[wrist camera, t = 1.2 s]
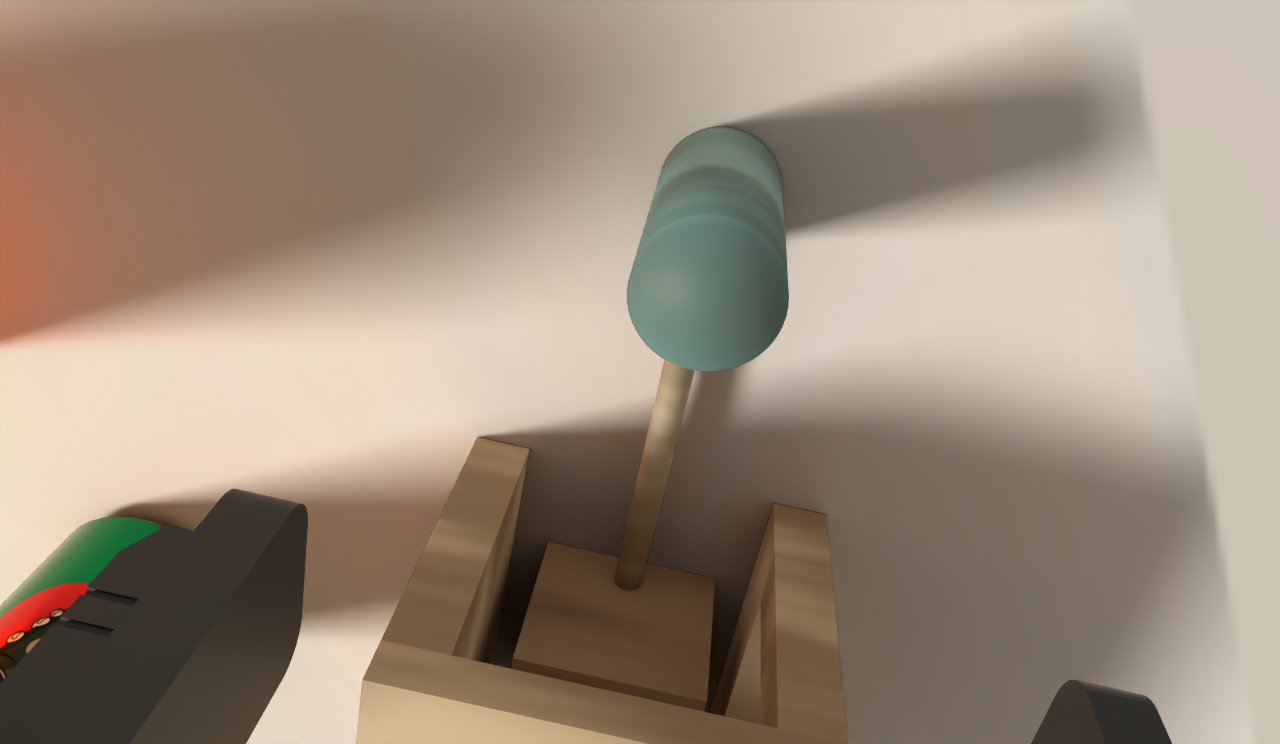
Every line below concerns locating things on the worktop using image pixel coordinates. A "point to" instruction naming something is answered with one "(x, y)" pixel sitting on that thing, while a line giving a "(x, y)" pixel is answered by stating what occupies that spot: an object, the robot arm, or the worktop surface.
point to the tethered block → (670, 422)
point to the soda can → (62, 583)
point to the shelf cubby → (578, 714)
